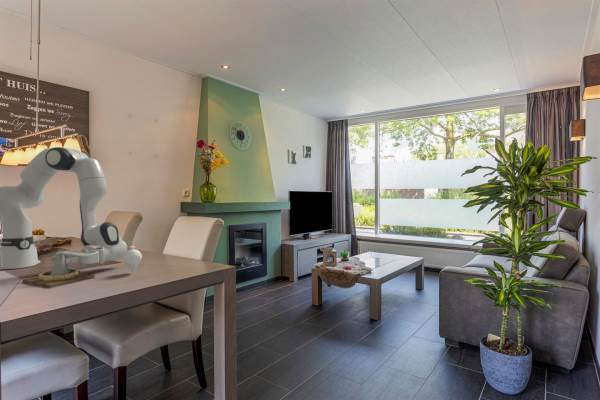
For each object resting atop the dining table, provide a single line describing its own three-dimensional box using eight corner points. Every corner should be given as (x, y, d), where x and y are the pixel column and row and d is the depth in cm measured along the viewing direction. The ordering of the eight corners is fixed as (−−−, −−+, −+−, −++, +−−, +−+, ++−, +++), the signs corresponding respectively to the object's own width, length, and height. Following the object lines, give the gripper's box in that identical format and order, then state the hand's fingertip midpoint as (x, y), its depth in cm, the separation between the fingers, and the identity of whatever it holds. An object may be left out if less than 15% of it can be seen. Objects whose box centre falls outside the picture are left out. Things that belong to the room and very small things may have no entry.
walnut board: (22, 282, 136) (22, 279, 136) (67, 273, 151) (67, 270, 151) (50, 288, 128) (50, 284, 128) (94, 277, 143) (94, 274, 143)
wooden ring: (32, 279, 137) (31, 274, 137) (66, 272, 148) (66, 267, 148) (51, 282, 131) (51, 277, 131) (85, 275, 143) (85, 270, 143)
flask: (61, 279, 136) (60, 254, 136) (45, 278, 137) (44, 254, 137) (75, 275, 143) (75, 251, 143) (59, 274, 144) (59, 251, 144)
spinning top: (118, 274, 150) (118, 247, 149) (134, 270, 156) (133, 244, 156) (130, 276, 146) (130, 248, 146) (145, 272, 153) (145, 245, 153)
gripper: (77, 246, 156) (43, 250, 144) (106, 249, 147) (73, 254, 135) (77, 259, 156) (43, 265, 144) (106, 263, 147) (73, 270, 135)
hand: (58, 260), depth 139 cm, fingers open, 8 cm apart
